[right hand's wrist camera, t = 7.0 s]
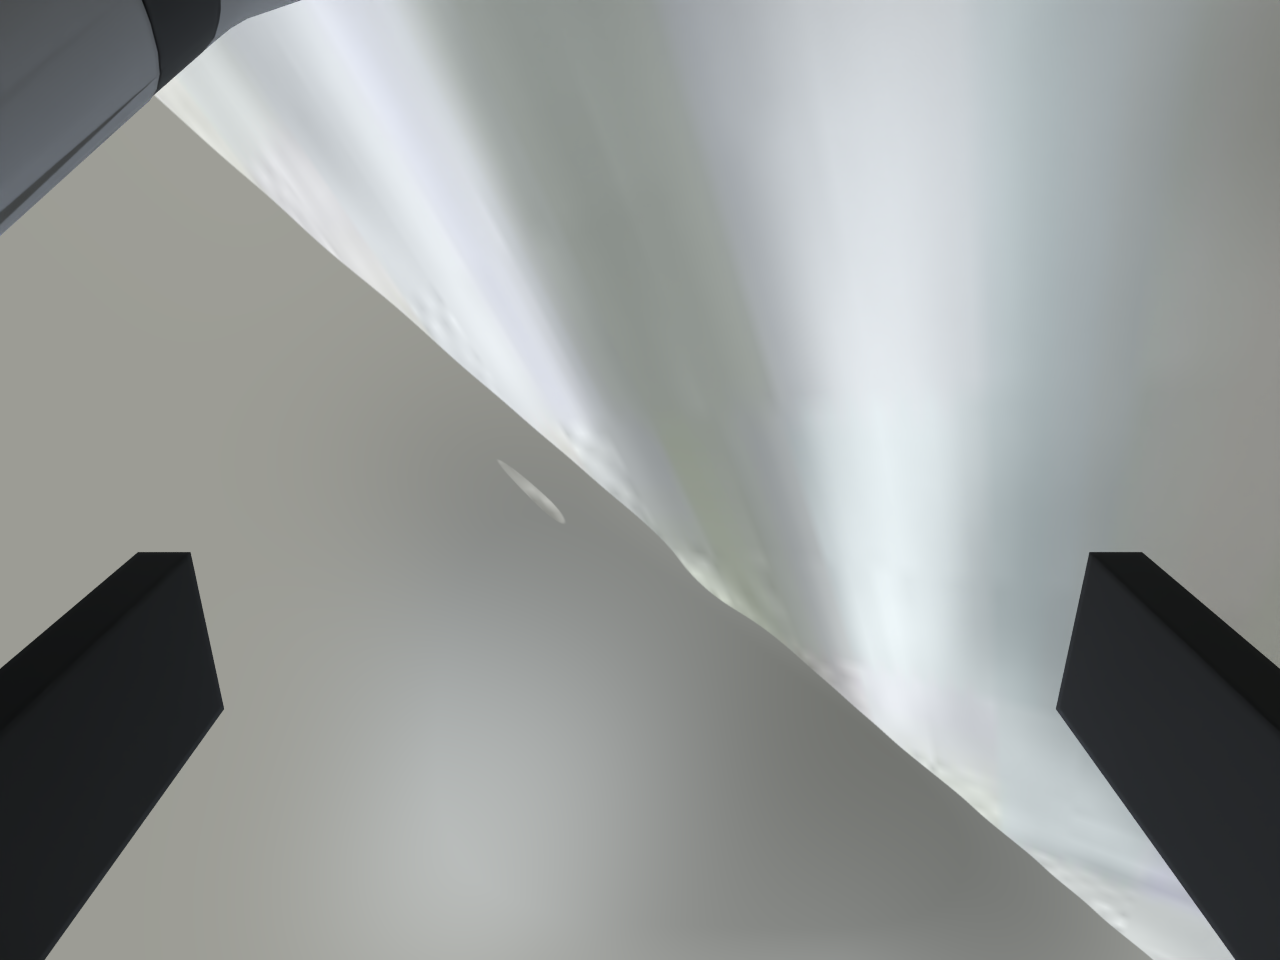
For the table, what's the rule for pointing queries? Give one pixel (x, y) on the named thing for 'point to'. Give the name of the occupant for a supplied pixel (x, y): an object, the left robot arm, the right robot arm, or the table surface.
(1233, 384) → the table surface
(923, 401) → the table surface
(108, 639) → the right robot arm
